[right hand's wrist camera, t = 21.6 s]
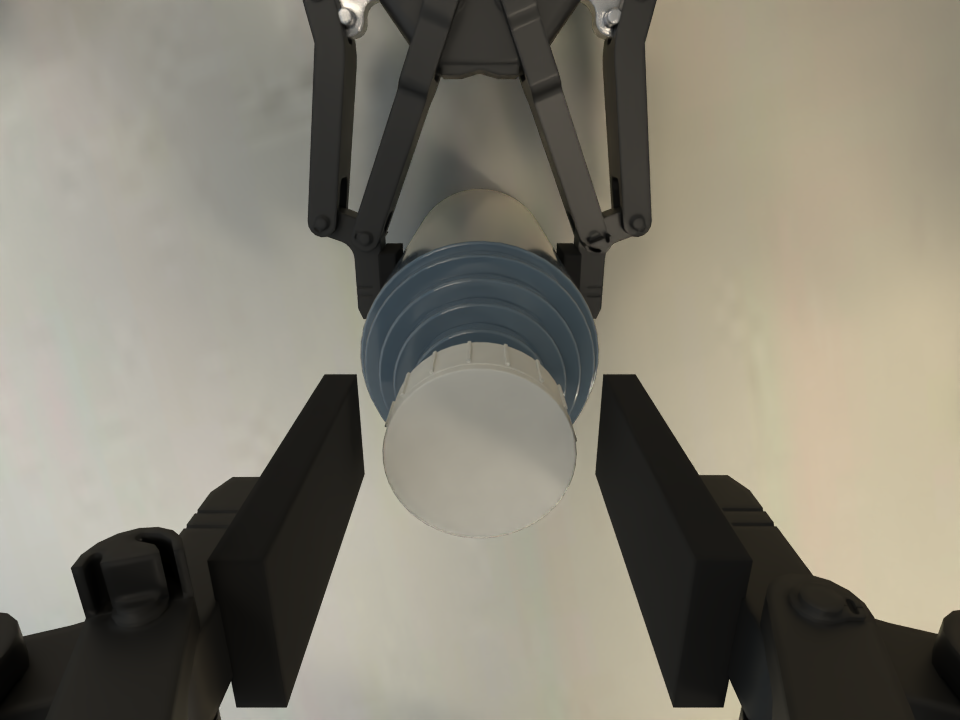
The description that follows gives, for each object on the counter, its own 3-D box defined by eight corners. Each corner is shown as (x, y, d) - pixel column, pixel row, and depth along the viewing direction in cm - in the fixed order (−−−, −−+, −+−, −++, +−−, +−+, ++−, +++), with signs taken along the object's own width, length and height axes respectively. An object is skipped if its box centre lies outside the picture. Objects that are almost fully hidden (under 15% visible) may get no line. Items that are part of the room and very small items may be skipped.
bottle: (414, 318, 35) (326, 570, 15) (413, 186, 32) (305, 280, 12) (541, 322, 35) (622, 578, 15) (550, 191, 32) (664, 292, 12)
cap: (491, 303, 14) (493, 326, 12) (602, 432, 15) (616, 468, 13) (355, 413, 15) (340, 448, 13) (469, 525, 16) (468, 570, 14)
